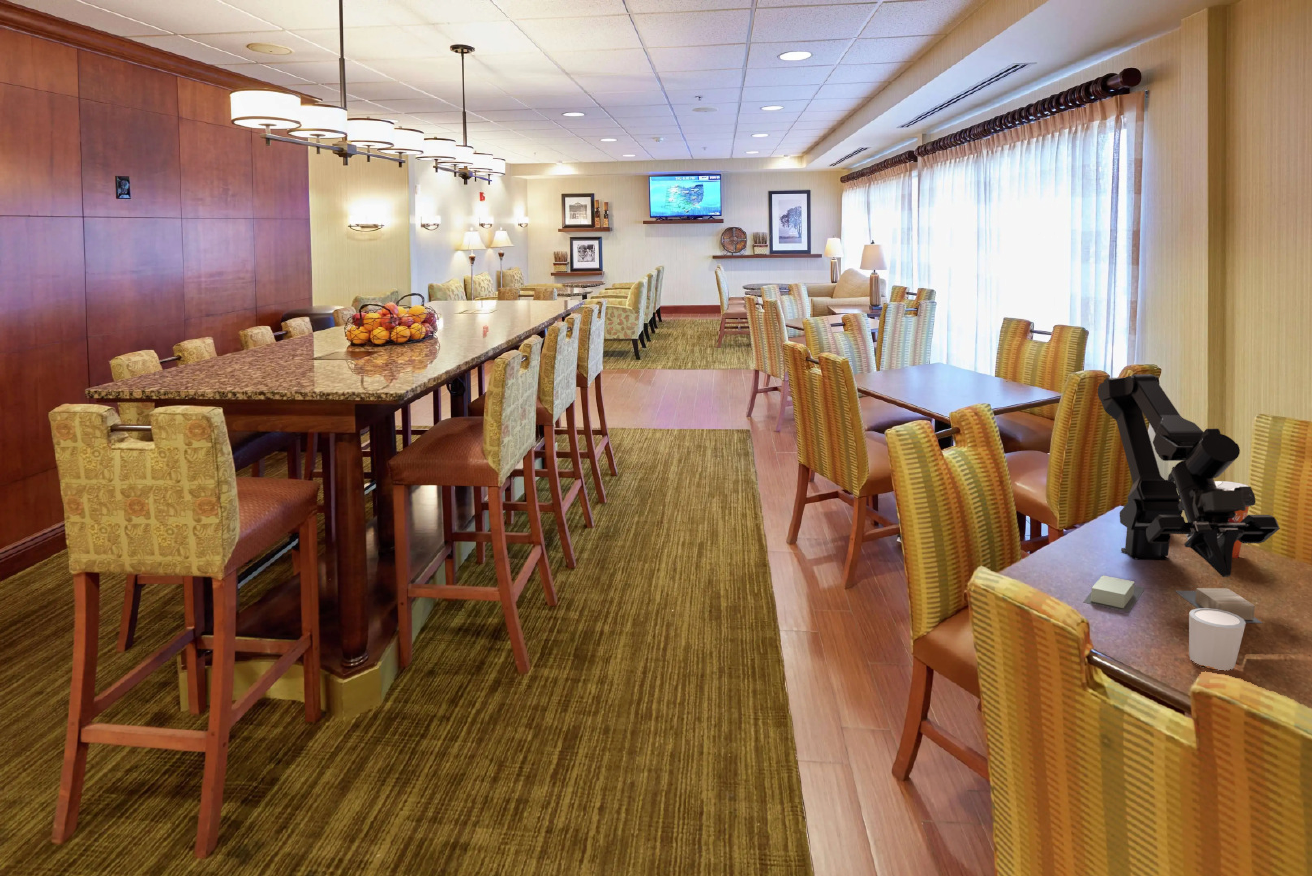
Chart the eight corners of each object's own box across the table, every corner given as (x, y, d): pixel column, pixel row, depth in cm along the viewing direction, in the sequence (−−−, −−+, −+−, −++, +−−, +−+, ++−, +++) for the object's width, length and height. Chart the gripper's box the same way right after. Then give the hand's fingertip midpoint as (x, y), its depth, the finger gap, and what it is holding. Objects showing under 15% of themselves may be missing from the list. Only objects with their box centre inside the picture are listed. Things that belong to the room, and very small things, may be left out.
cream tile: (1196, 588, 142) (1221, 605, 135) (1227, 588, 142) (1254, 605, 134) (1195, 602, 143) (1220, 620, 135) (1226, 602, 142) (1253, 620, 135)
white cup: (1185, 646, 128) (1190, 603, 127) (1240, 657, 125) (1246, 613, 123) (1182, 665, 123) (1187, 620, 121) (1239, 677, 119) (1245, 631, 118)
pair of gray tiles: (1098, 623, 137) (1099, 619, 137) (1060, 581, 154) (1060, 578, 154) (1263, 627, 134) (1263, 623, 134) (1205, 583, 151) (1205, 580, 151)
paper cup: (1230, 564, 160) (1239, 493, 157) (1189, 552, 167) (1197, 484, 164) (1254, 556, 164) (1263, 487, 161) (1212, 545, 170) (1220, 478, 167)
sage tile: (1102, 575, 149) (1091, 587, 143) (1134, 581, 146) (1124, 594, 140) (1101, 588, 149) (1090, 601, 144) (1133, 595, 146) (1123, 608, 141)
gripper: (1160, 468, 140) (1188, 555, 132) (1280, 468, 138) (1316, 555, 130) (1134, 500, 150) (1158, 583, 141) (1245, 500, 148) (1277, 583, 139)
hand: (1226, 576), depth 138 cm, fingers closed
